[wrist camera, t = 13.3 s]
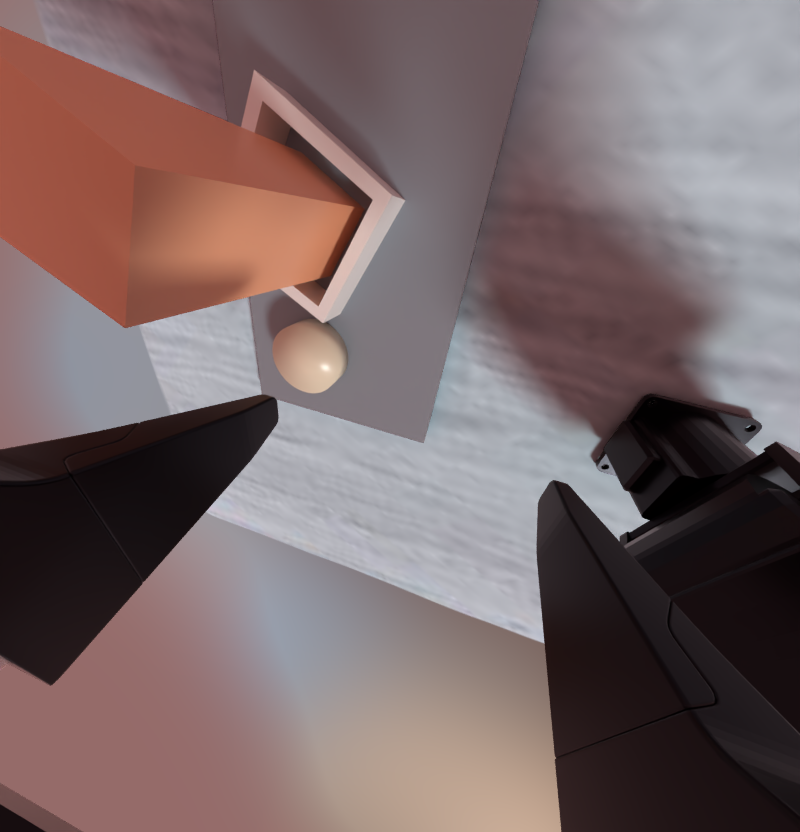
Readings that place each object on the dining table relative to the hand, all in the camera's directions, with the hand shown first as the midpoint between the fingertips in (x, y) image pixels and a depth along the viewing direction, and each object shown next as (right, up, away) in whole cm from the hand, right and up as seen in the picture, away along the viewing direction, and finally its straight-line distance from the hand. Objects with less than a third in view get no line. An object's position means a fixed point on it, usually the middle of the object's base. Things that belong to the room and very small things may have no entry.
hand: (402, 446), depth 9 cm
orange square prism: (-5, +13, +8) cm, 16 cm away
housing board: (-3, +13, +9) cm, 16 cm away
